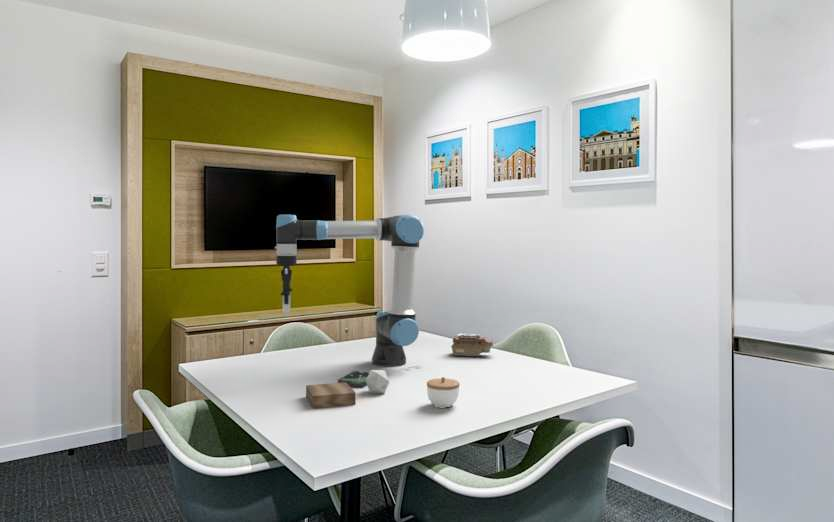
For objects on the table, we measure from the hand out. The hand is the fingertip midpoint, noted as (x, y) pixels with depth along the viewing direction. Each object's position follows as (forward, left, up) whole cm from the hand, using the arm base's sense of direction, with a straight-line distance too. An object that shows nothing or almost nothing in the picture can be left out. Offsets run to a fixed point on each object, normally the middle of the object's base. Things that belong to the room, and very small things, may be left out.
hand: (286, 310), depth 216 cm
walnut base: (-10, +33, -27) cm, 44 cm away
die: (-28, +28, -27) cm, 48 cm away
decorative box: (-89, -20, -27) cm, 95 cm away
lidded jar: (-44, +50, -27) cm, 72 cm away
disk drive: (-25, +12, -28) cm, 39 cm away
